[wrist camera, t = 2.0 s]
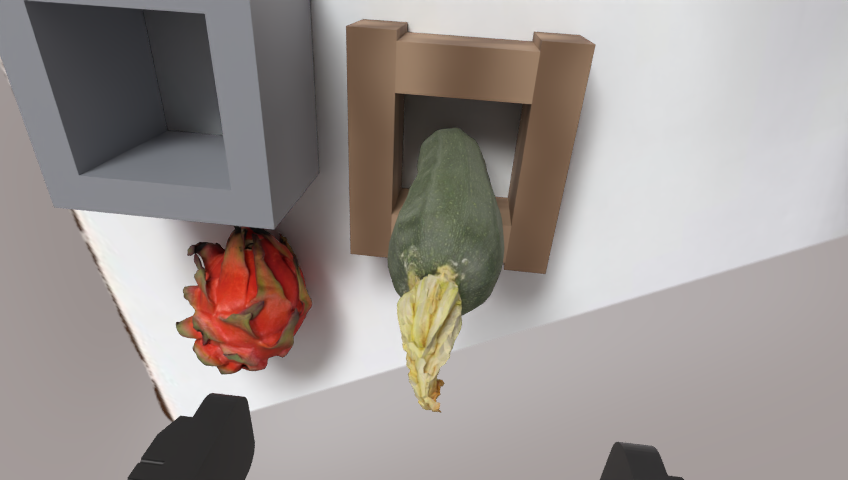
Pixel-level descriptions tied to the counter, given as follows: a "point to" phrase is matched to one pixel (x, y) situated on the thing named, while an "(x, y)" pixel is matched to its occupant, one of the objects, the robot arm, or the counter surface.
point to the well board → (468, 79)
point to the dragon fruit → (245, 301)
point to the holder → (143, 112)
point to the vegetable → (443, 254)
